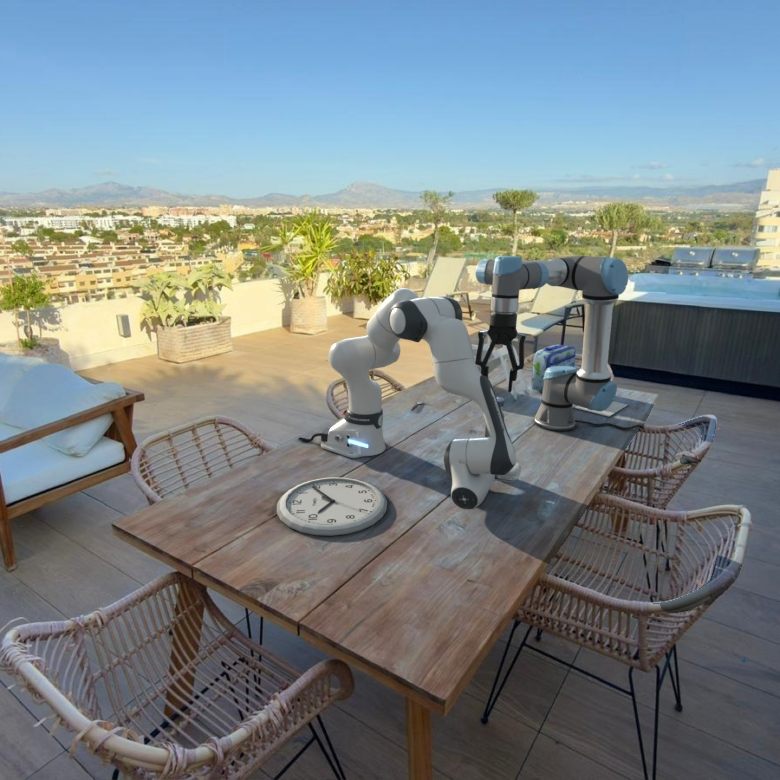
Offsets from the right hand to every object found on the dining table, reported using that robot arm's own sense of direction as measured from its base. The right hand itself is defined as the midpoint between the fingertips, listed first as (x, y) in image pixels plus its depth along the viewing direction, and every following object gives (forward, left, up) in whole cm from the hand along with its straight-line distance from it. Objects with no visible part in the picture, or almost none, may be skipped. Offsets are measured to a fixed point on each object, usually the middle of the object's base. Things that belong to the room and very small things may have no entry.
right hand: (497, 389), depth 155 cm
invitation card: (-52, -72, -27) cm, 93 cm away
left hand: (0, +1, -21) cm, 21 cm away
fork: (+27, -59, -27) cm, 71 cm away
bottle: (0, 0, -27) cm, 27 cm away
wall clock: (+44, +27, -27) cm, 59 cm away
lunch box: (-35, -95, -27) cm, 105 cm away
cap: (0, 0, -3) cm, 3 cm away
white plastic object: (0, -84, -27) cm, 89 cm away
